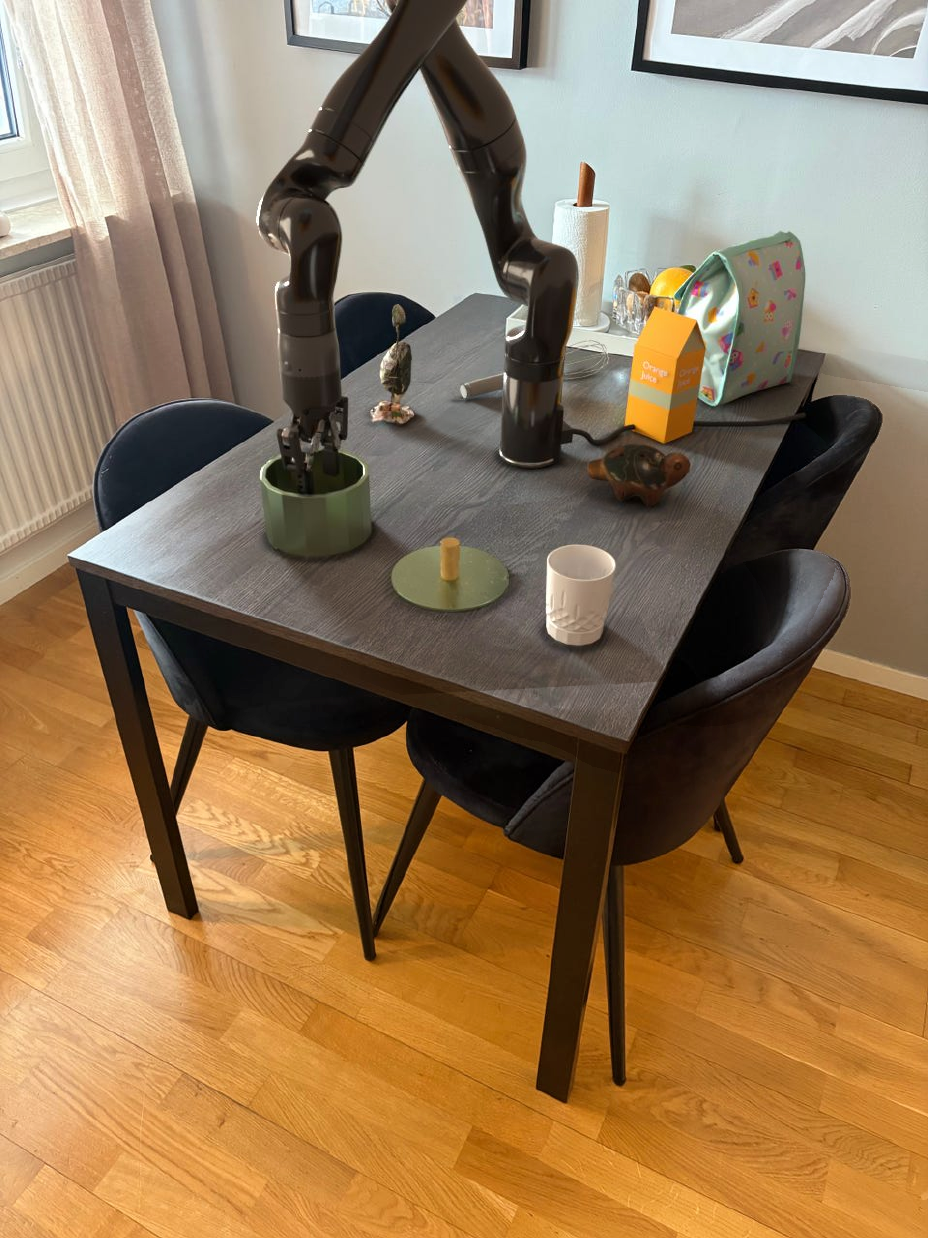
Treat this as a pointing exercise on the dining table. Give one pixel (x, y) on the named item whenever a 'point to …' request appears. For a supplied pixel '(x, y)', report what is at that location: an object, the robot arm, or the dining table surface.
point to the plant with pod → (395, 377)
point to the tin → (317, 507)
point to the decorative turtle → (639, 471)
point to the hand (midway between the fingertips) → (319, 483)
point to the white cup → (578, 593)
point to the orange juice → (665, 376)
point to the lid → (450, 578)
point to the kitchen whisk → (497, 380)
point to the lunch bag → (747, 315)
